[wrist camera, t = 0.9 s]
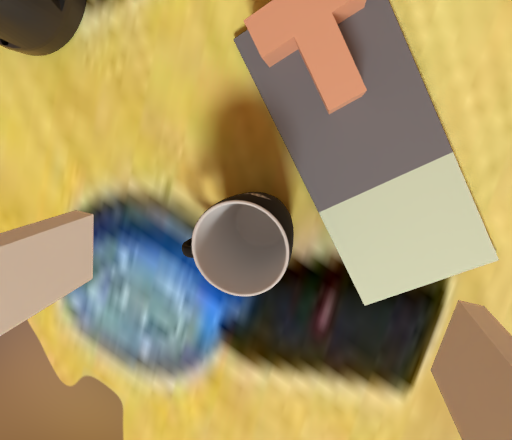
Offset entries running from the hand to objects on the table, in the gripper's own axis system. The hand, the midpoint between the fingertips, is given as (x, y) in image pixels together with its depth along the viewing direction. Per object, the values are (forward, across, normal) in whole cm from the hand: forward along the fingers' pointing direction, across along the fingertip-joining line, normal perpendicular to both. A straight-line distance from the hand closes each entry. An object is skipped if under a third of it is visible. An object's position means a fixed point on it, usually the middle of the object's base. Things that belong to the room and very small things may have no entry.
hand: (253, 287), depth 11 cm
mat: (+25, +6, +5) cm, 26 cm away
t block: (+24, 0, +13) cm, 28 cm away
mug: (+25, -5, -6) cm, 26 cm away
